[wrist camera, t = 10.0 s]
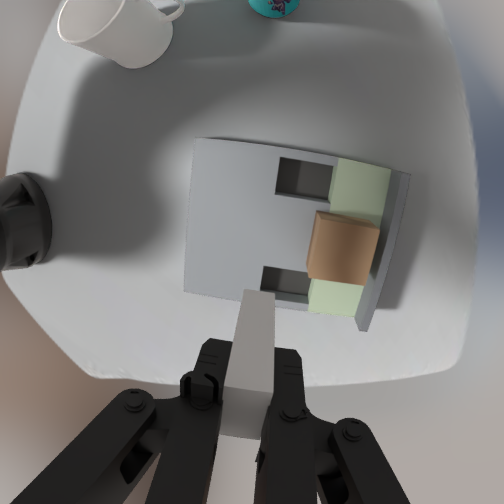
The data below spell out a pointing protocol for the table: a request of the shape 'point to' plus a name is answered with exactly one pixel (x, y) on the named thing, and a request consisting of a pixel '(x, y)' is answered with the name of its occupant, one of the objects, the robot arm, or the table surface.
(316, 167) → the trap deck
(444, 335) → the table surface
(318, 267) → the block
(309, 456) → the robot arm
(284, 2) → the beverage can
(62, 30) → the mug
